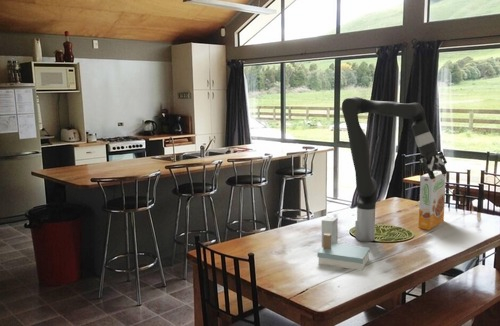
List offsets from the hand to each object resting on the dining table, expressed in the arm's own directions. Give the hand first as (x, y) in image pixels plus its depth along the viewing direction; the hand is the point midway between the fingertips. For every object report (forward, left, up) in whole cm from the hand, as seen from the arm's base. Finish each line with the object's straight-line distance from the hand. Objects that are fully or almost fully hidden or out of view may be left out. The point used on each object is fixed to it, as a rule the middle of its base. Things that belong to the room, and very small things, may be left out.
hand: (439, 176), depth 208 cm
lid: (-21, -39, -35) cm, 56 cm away
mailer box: (-21, -39, -38) cm, 59 cm away
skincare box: (-38, -31, -39) cm, 63 cm away
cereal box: (-32, +44, -39) cm, 67 cm away
